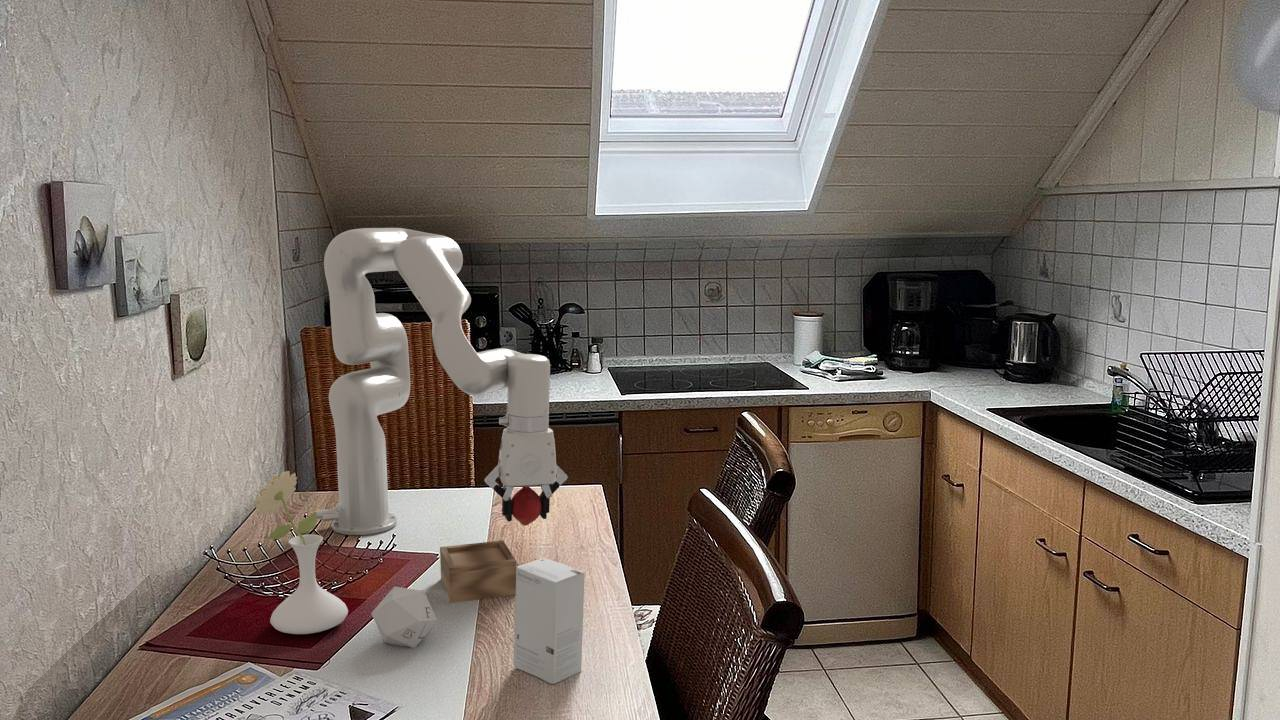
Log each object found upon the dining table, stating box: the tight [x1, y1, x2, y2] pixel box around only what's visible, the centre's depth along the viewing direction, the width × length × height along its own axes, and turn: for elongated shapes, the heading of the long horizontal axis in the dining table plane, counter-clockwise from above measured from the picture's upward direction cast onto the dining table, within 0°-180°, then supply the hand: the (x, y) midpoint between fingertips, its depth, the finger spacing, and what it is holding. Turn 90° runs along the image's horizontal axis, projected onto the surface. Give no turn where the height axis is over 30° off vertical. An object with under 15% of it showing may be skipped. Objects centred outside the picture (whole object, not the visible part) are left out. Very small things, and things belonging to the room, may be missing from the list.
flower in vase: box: [252, 470, 349, 635], centre depth 151 cm, size 13×11×25 cm
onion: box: [511, 486, 542, 527], centre depth 183 cm, size 6×6×8 cm
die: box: [370, 586, 438, 649], centre depth 147 cm, size 8×9×10 cm
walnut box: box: [439, 539, 517, 604], centre depth 169 cm, size 11×11×6 cm
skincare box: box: [513, 557, 586, 685], centre depth 137 cm, size 8×6×15 cm
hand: (525, 517), depth 184 cm, fingers closed on onion, 5 cm apart
